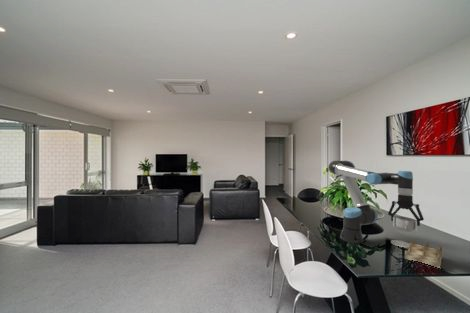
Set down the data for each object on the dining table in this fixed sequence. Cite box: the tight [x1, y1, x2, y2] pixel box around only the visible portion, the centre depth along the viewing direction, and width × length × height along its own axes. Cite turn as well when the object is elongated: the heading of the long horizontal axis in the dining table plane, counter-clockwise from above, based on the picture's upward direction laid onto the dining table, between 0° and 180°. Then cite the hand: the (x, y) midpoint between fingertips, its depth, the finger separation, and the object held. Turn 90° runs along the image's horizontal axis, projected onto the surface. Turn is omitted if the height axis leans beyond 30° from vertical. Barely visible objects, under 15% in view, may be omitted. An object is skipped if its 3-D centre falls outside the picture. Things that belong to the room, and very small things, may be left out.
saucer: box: [390, 239, 410, 249], centre depth 154 cm, size 12×12×2 cm
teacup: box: [394, 215, 416, 232], centre depth 139 cm, size 14×11×8 cm
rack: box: [404, 238, 443, 269], centre depth 134 cm, size 16×19×8 cm
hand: (405, 228), depth 139 cm, fingers closed on teacup, 11 cm apart
